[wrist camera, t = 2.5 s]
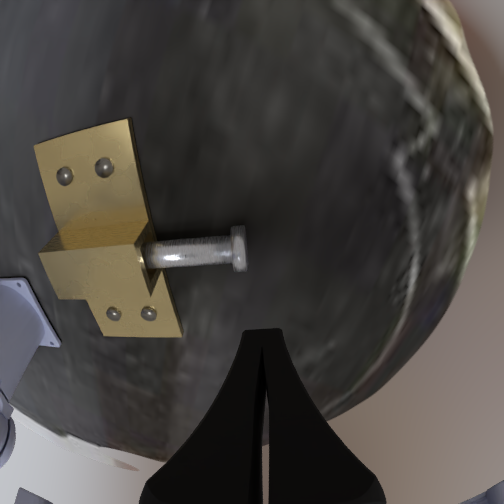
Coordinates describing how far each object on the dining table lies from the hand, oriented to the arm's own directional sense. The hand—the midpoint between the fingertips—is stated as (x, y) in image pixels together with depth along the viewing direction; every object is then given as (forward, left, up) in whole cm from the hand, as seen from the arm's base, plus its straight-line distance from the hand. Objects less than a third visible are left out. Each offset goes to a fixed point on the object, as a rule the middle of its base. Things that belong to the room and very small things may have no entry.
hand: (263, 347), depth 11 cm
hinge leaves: (-10, 0, -9) cm, 14 cm away
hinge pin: (-5, 0, -9) cm, 10 cm away
